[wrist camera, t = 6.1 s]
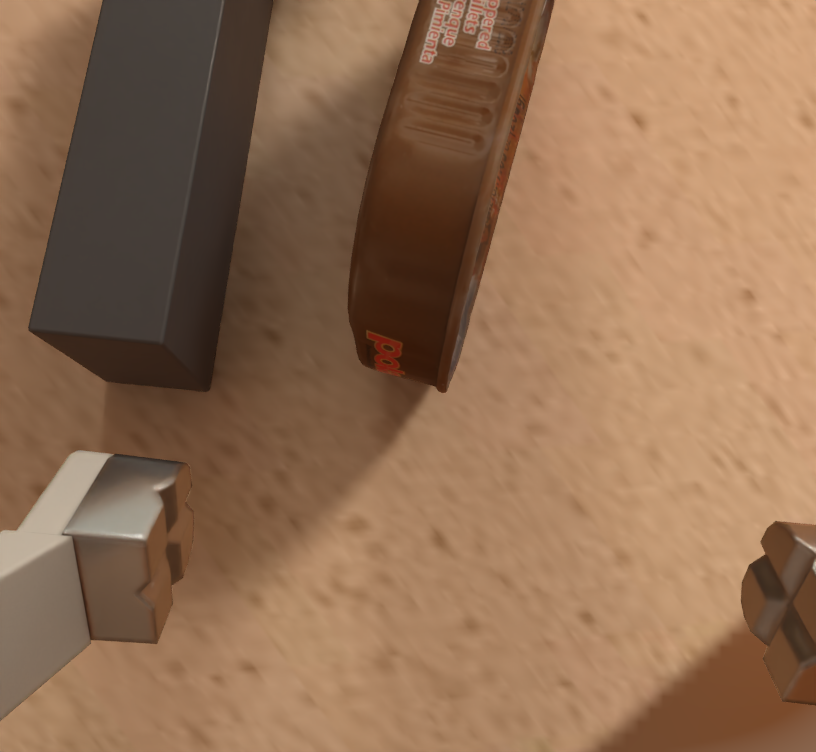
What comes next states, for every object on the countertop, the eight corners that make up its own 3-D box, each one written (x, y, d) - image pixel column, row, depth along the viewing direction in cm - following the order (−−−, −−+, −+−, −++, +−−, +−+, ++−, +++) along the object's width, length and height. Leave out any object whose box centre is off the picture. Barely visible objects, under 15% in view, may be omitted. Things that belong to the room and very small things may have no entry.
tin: (441, 423, 21) (486, 341, 13) (336, 393, 21) (316, 293, 13) (556, 0, 25) (648, -271, 17) (466, -25, 25) (514, -307, 17)
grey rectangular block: (280, -42, 25) (259, -188, 20) (209, 392, 21) (162, 345, 16) (191, -53, 25) (147, -202, 20) (104, 381, 21) (25, 330, 16)
